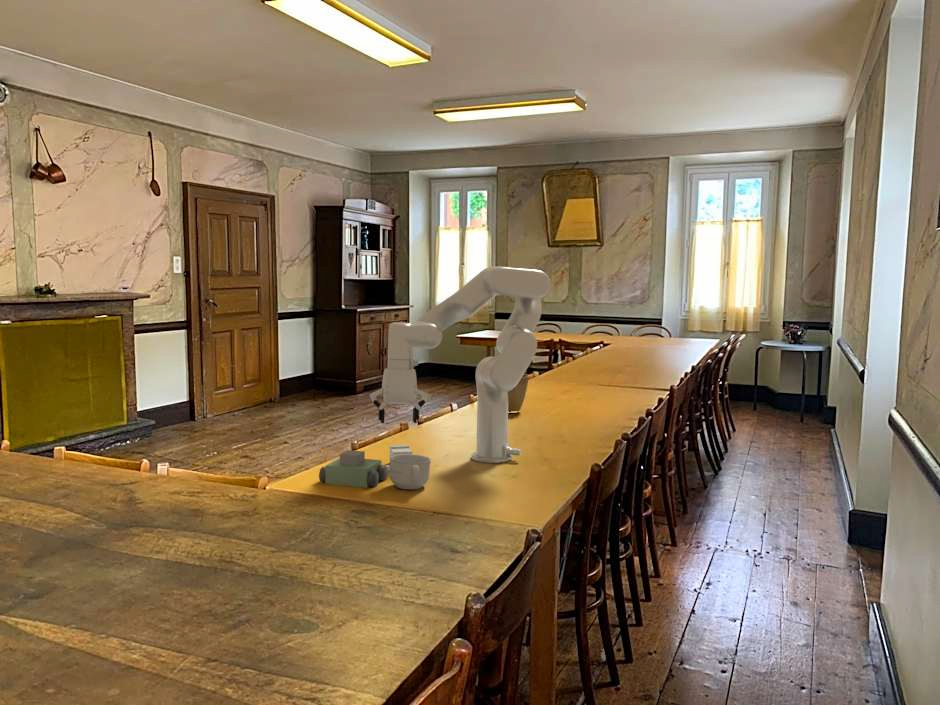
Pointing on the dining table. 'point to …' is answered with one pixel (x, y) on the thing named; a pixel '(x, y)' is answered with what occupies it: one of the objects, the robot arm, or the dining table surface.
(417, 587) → the dining table surface
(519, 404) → the plant pot
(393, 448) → the light grey box
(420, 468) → the teacup
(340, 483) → the toy car
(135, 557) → the dining table surface
